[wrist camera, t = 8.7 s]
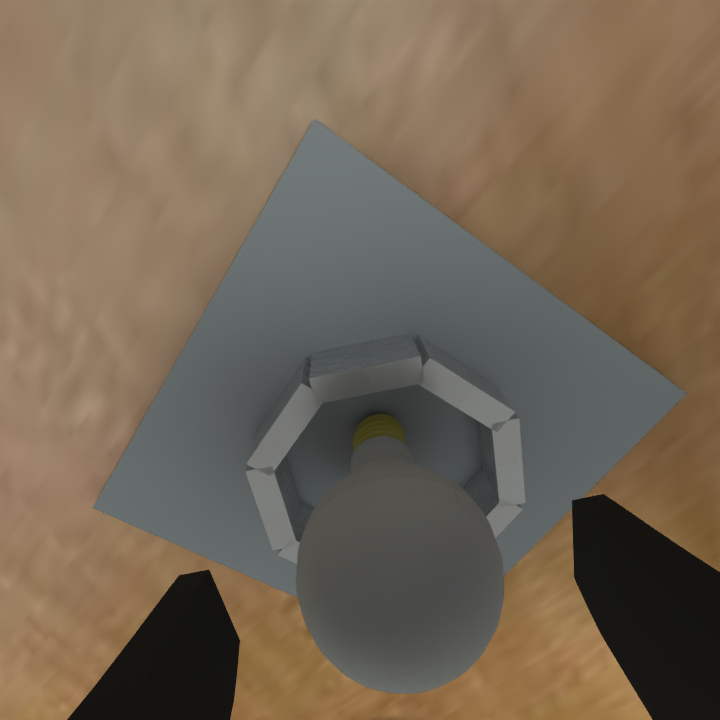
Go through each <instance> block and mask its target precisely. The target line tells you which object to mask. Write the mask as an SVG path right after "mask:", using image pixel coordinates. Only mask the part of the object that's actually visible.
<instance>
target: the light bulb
mask: <svg viewBox="0 0 720 720" xmlns="http://www.w3.org/2000/svg"><path fill="white" fill-rule="evenodd" d="M353 450H354V453H353V455H352V458H351V473H350V474H349V475H347V476H346V477H344V478H343V479H342V480H340V481H339V482H338V483H337V484H336V485H335V486H334V487H333V488H332V489H331V490H330V491H329V492H328V493H327V494H326V495H325V496H324V497H323V498H322V499H321V500H320V501H319V503H318V504H317V505H316V507H315V508H314V510H313V512H312V514H311V516H310V518H309V520H308V523H307V525H306V528H305V530H304V533H303V535H302V538H301V541H300V544H299V548H298V557H297V573H296V591H297V597H298V600H299V604H300V607H301V610H302V614H303V617H304V620H305V623H306V626H307V628H308V630H309V632H310V634H311V635H312V637H313V639H314V641H315V643H316V645H317V646H318V648H319V649H320V651H321V652H322V653H323V654H324V656H325V657H326V658H327V659H328V660H329V661H330V662H331V663H333V664H334V665H335V666H336V667H337V668H338V669H339V670H340V671H341V672H342V673H343V674H345V675H346V676H347V677H349V678H351V679H352V680H354V681H356V682H358V683H360V684H362V685H364V686H366V687H368V688H371V689H374V690H378V691H383V692H389V693H398V694H411V693H420V692H424V691H428V690H432V689H435V688H437V687H440V686H442V685H444V684H447V683H449V682H450V681H452V680H454V679H456V678H457V677H459V676H460V675H462V674H463V673H464V672H466V671H467V670H468V669H469V668H470V667H471V666H472V665H473V664H474V663H475V662H476V661H477V660H478V659H479V657H480V656H481V655H482V653H483V652H484V650H485V649H486V647H487V645H488V643H489V642H490V640H491V638H492V636H493V634H494V632H495V630H496V628H497V626H498V622H499V619H500V614H501V609H502V604H503V598H504V567H503V559H502V555H501V552H500V549H499V546H498V544H497V541H496V539H495V536H494V533H493V531H492V528H491V525H490V523H489V521H488V519H487V518H486V516H485V515H484V513H483V512H482V510H481V509H480V508H479V507H478V505H477V504H476V503H475V502H474V501H473V499H472V498H471V497H470V496H469V495H468V494H467V492H466V491H465V490H464V489H463V488H461V487H460V486H459V485H458V484H457V483H455V482H454V481H452V480H451V479H449V478H447V477H445V476H444V475H442V474H440V473H438V472H436V471H434V470H432V469H430V468H427V467H425V466H422V465H419V464H415V463H414V460H413V456H412V453H411V451H410V449H409V448H408V446H407V444H406V441H405V437H404V431H403V427H402V426H401V424H400V423H399V422H398V420H396V419H395V418H393V417H391V416H389V415H386V414H374V415H371V416H368V417H367V418H365V419H364V420H363V421H361V422H360V424H359V425H358V426H357V428H356V430H355V432H354V437H353Z"/></svg>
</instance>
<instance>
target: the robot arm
mask: <svg viewBox="0 0 720 720" xmlns="http://www.w3.org/2000/svg"><path fill="white" fill-rule="evenodd" d="M572 519H573V549H574V578H575V580H576V583H577V585H578V587H579V589H580V591H581V593H582V596H583V598H584V600H585V602H586V604H587V606H588V609H589V611H590V613H591V615H592V617H593V619H594V621H595V623H596V625H597V627H598V629H599V631H600V633H601V635H602V636H603V638H604V640H605V642H606V643H607V645H608V647H609V648H610V650H611V652H612V653H613V655H614V657H615V658H616V660H617V662H618V663H619V665H620V667H621V668H622V670H623V671H624V673H625V675H626V676H627V678H628V680H629V681H630V683H631V685H632V686H633V688H634V690H635V691H636V693H637V695H638V696H639V698H640V699H641V701H642V703H643V704H644V706H645V708H646V709H647V711H648V713H649V714H650V716H651V717H652V719H653V720H720V572H719V571H717V570H716V569H714V568H712V567H711V566H709V565H708V564H706V563H705V562H703V561H702V560H700V559H698V558H697V557H695V556H694V555H692V554H691V553H689V552H688V551H686V550H685V549H683V548H682V547H680V546H679V545H677V544H676V543H674V542H673V541H671V540H670V539H668V538H667V537H666V536H664V535H663V534H661V533H660V532H658V531H657V530H655V529H654V528H652V527H651V526H649V525H648V524H646V523H645V522H644V521H642V520H641V519H639V518H638V517H636V516H635V515H633V514H632V513H630V512H629V511H627V510H626V509H625V508H623V507H622V506H620V505H619V504H617V503H616V502H614V501H613V500H611V499H610V498H608V497H607V496H605V495H604V494H602V495H597V496H592V497H586V498H581V499H576V500H572ZM239 644H240V640H239V637H238V635H237V633H236V630H235V628H234V626H233V623H232V621H231V619H230V617H229V614H228V612H227V610H226V607H225V605H224V603H223V600H222V598H221V596H220V594H219V591H218V589H217V587H216V584H215V582H214V580H213V577H212V575H211V573H210V571H209V570H205V571H200V572H194V573H189V574H184V575H179V577H178V578H177V579H176V580H175V582H174V583H173V584H172V585H171V587H170V588H169V589H168V591H167V592H166V593H165V595H164V596H163V597H162V599H161V600H160V601H159V603H158V604H157V605H156V607H155V608H154V609H153V611H152V612H151V613H150V615H149V616H148V617H147V619H146V620H145V621H144V623H143V624H142V625H141V627H140V628H139V629H138V631H137V632H136V633H135V634H134V636H133V637H132V638H131V640H130V641H129V642H128V644H127V645H126V646H125V648H124V649H123V650H122V651H121V653H120V654H119V655H118V657H117V658H116V659H115V661H114V662H113V663H112V664H111V666H110V667H109V668H108V670H107V671H106V672H105V674H104V675H103V676H102V677H101V679H100V680H99V681H98V683H97V684H96V685H95V686H94V688H93V689H92V690H91V691H90V693H89V694H88V695H87V696H86V698H85V699H84V700H83V701H82V702H81V704H80V705H79V706H78V707H77V708H76V710H75V711H74V712H73V713H72V715H71V716H70V717H69V718H68V719H67V720H230V717H231V712H232V707H233V702H234V695H235V686H236V677H237V667H238V655H239Z"/></svg>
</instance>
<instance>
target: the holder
mask: <svg viewBox="0 0 720 720" xmlns="http://www.w3.org/2000/svg"><path fill="white" fill-rule="evenodd" d="M686 394H687V393H686V392H685V391H683V390H682V389H680V388H679V387H678V386H676V385H675V384H674V383H672V382H671V381H670V380H668V379H667V378H666V377H664V376H663V375H661V374H660V373H659V372H657V371H656V370H655V369H653V368H652V367H651V366H649V365H648V364H647V363H645V362H644V361H642V360H641V359H640V358H638V357H637V356H636V355H634V354H633V353H632V352H630V351H629V350H628V349H626V348H625V347H623V346H622V345H621V344H619V343H618V342H617V341H615V340H614V339H613V338H611V337H610V336H608V335H607V334H606V333H604V332H603V331H602V330H600V329H599V328H598V327H596V326H595V325H594V324H592V323H591V322H589V321H588V320H587V319H585V318H584V317H583V316H581V315H580V314H579V313H577V312H576V311H575V310H573V309H572V308H570V307H569V306H568V305H566V304H565V303H564V302H562V301H561V300H560V299H558V298H557V297H556V296H554V295H553V294H551V293H550V292H549V291H547V290H546V289H545V288H543V287H542V286H541V285H539V284H538V283H537V282H535V281H534V280H532V279H531V278H530V277H528V276H527V275H526V274H524V273H523V272H522V271H520V270H519V269H518V268H516V267H515V266H513V265H512V264H511V263H509V262H508V261H507V260H505V259H504V258H503V257H501V256H500V255H499V254H497V253H496V252H494V251H493V250H492V249H490V248H489V247H488V246H486V245H485V244H484V243H482V242H481V241H480V240H478V239H477V238H475V237H474V236H473V235H471V234H470V233H469V232H467V231H466V230H465V229H463V228H462V227H461V226H459V225H458V224H456V223H455V222H454V221H452V220H451V219H450V218H448V217H447V216H446V215H444V214H443V213H442V212H440V211H439V210H437V209H436V208H435V207H433V206H432V205H431V204H429V203H428V202H427V201H425V200H424V199H423V198H421V197H420V196H418V195H417V194H416V193H414V192H413V191H412V190H410V189H409V188H408V187H406V186H405V185H404V184H402V183H401V182H399V181H398V180H397V179H395V178H394V177H393V176H391V175H390V174H389V173H387V172H386V171H385V170H383V169H382V168H380V167H379V166H378V165H376V164H375V163H374V162H372V161H371V160H370V159H368V158H367V157H366V156H364V155H363V154H361V153H360V152H359V151H357V150H356V149H355V148H353V147H352V146H351V145H349V144H348V143H347V142H345V141H344V140H342V139H341V138H340V137H338V136H337V135H336V134H334V133H333V132H332V131H330V130H329V129H328V128H326V127H325V126H323V125H322V124H321V123H319V122H318V121H317V120H315V119H314V121H313V123H312V125H311V126H310V128H309V130H308V132H307V133H306V135H305V137H304V139H303V140H302V142H301V144H300V146H299V147H298V149H297V151H296V153H295V154H294V156H293V158H292V160H291V161H290V163H289V165H288V167H287V168H286V170H285V172H284V174H283V175H282V177H281V179H280V181H279V182H278V184H277V186H276V188H275V189H274V191H273V193H272V195H271V196H270V198H269V200H268V202H267V203H266V205H265V207H264V209H263V210H262V212H261V214H260V216H259V217H258V219H257V221H256V223H255V224H254V226H253V228H252V230H251V231H250V233H249V235H248V237H247V238H246V240H245V242H244V244H243V245H242V247H241V249H240V251H239V252H238V254H237V256H236V258H235V259H234V261H233V263H232V265H231V266H230V268H229V270H228V272H227V273H226V275H225V277H224V279H223V280H222V282H221V284H220V286H219V287H218V289H217V291H216V293H215V294H214V296H213V298H212V300H211V301H210V303H209V305H208V307H207V308H206V310H205V312H204V314H203V315H202V317H201V319H200V321H199V322H198V324H197V326H196V328H195V329H194V331H193V333H192V335H191V336H190V338H189V340H188V342H187V343H186V345H185V347H184V349H183V350H182V352H181V354H180V356H179V357H178V359H177V361H176V363H175V365H174V366H173V368H172V370H171V372H170V373H169V375H168V377H167V379H166V380H165V382H164V384H163V386H162V387H161V389H160V391H159V393H158V394H157V396H156V398H155V400H154V401H153V403H152V405H151V407H150V408H149V410H148V412H147V414H146V415H145V417H144V419H143V421H142V422H141V424H140V426H139V428H138V429H137V431H136V433H135V435H134V436H133V438H132V440H131V442H130V443H129V445H128V447H127V449H126V450H125V452H124V454H123V456H122V457H121V459H120V461H119V463H118V464H117V466H116V468H115V470H114V471H113V473H112V475H111V477H110V478H109V480H108V482H107V484H106V485H105V487H104V489H103V491H102V492H101V494H100V496H99V498H98V499H97V501H96V503H95V505H94V506H93V508H94V509H97V510H99V511H101V512H103V513H106V514H108V515H110V516H113V517H115V518H117V519H119V520H122V521H124V522H126V523H129V524H131V525H133V526H135V527H138V528H140V529H142V530H145V531H147V532H149V533H151V534H154V535H156V536H158V537H161V538H163V539H165V540H167V541H170V542H172V543H174V544H176V545H179V546H181V547H183V548H186V549H188V550H190V551H192V552H195V553H197V554H199V555H202V556H204V557H206V558H208V559H211V560H213V561H215V562H218V563H220V564H222V565H224V566H227V567H229V568H231V569H234V570H236V571H238V572H240V573H243V574H245V575H247V576H250V577H252V578H254V579H256V580H259V581H261V582H263V583H266V584H268V585H270V586H272V587H275V588H277V589H279V590H282V591H284V592H286V593H288V594H291V595H293V596H295V597H297V591H296V573H297V557H298V548H299V544H300V541H301V538H302V535H303V533H304V530H305V528H306V525H307V523H308V520H309V518H310V516H311V514H312V512H313V510H314V508H315V507H316V505H317V504H318V503H319V501H320V500H321V499H322V498H323V497H324V496H325V495H326V494H327V493H328V492H329V491H330V490H331V489H332V488H333V487H334V486H335V485H336V484H337V483H338V482H339V481H340V480H342V479H343V478H344V477H346V476H347V475H349V474H350V473H351V458H352V455H353V453H354V450H353V437H354V432H355V430H356V428H357V426H358V425H359V424H360V422H361V421H363V420H364V419H365V418H367V417H368V416H371V415H374V414H386V415H389V416H391V417H393V418H395V419H396V420H398V422H399V423H400V424H401V426H402V427H403V431H404V437H405V441H406V444H407V446H408V448H409V449H410V451H411V453H412V456H413V460H414V463H415V464H419V465H422V466H425V467H427V468H430V469H432V470H434V471H436V472H438V473H440V474H442V475H444V476H445V477H447V478H449V479H451V480H452V481H454V482H455V483H457V484H458V485H459V486H460V487H461V488H463V489H464V490H465V491H466V492H467V494H468V495H469V496H470V497H471V498H472V499H473V501H474V502H475V503H476V504H477V505H478V507H479V508H480V509H481V510H482V512H483V513H484V515H485V516H486V518H487V519H488V521H489V523H490V525H491V528H492V531H493V533H494V536H495V539H496V541H497V544H498V546H499V549H500V552H501V555H502V559H503V567H504V575H505V574H506V573H507V572H508V571H509V570H510V569H511V568H512V567H513V566H514V565H515V564H516V563H517V562H518V561H519V560H520V559H521V558H522V557H523V556H524V555H525V554H526V553H527V552H528V551H529V550H530V549H531V548H532V547H533V546H534V545H535V544H536V543H537V542H538V541H539V540H540V539H541V538H542V537H543V536H544V535H545V534H546V533H547V532H548V531H549V530H550V529H551V528H552V527H553V526H554V525H555V524H556V523H557V522H558V521H559V520H560V519H561V518H562V517H563V516H564V515H565V514H566V513H567V512H568V511H570V510H571V509H572V500H576V499H581V498H583V497H584V496H585V495H586V494H587V493H588V492H589V491H590V490H591V489H592V488H593V487H594V486H595V485H596V484H597V483H598V482H599V481H600V480H601V479H602V478H603V477H604V476H605V475H606V474H607V473H608V472H609V471H610V470H611V469H612V468H613V467H614V466H615V465H616V464H617V463H618V462H619V461H620V460H621V459H622V458H623V457H624V456H625V455H626V454H627V453H628V452H629V451H630V450H631V449H632V448H633V447H634V446H635V445H636V444H637V443H638V442H639V441H640V440H641V439H642V438H643V437H644V436H645V435H646V434H647V433H648V432H649V431H650V430H651V429H652V428H653V427H654V426H655V425H656V424H657V423H658V422H659V421H660V420H661V419H662V418H663V417H664V416H665V415H666V414H667V413H668V412H669V411H670V410H671V409H672V408H673V407H674V406H675V405H676V404H677V403H678V402H679V401H680V400H681V399H682V398H683V397H684V396H685V395H686Z"/></svg>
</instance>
